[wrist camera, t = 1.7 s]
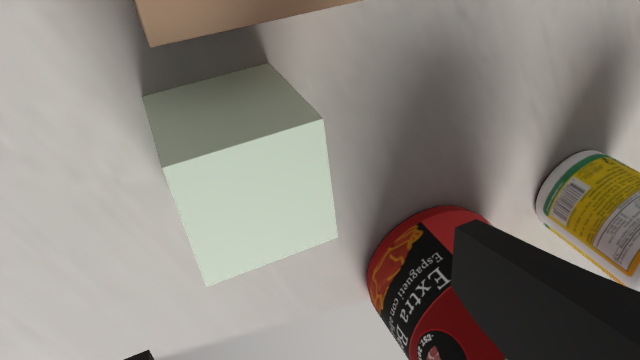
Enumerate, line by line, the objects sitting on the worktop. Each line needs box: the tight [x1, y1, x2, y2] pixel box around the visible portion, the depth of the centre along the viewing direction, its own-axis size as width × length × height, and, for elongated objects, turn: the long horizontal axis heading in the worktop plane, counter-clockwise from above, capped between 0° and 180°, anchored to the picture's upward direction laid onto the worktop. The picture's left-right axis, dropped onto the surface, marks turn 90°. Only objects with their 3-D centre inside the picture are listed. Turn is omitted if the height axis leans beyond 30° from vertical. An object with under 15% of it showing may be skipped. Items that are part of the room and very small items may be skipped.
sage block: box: [142, 63, 338, 287], centre depth 16 cm, size 4×4×5 cm
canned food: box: [367, 206, 508, 360], centre depth 22 cm, size 8×8×11 cm
